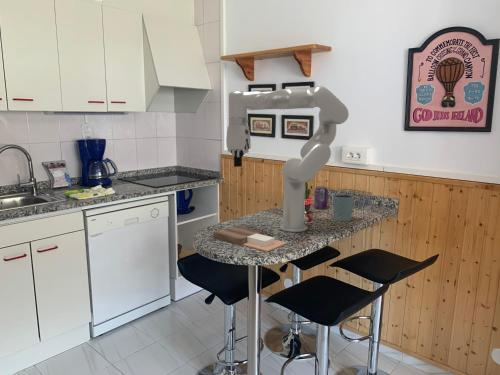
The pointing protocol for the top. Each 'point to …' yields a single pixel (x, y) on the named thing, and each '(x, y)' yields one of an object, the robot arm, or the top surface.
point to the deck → (235, 234)
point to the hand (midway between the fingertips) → (237, 166)
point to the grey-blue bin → (343, 207)
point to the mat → (268, 248)
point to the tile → (260, 240)
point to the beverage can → (321, 197)
